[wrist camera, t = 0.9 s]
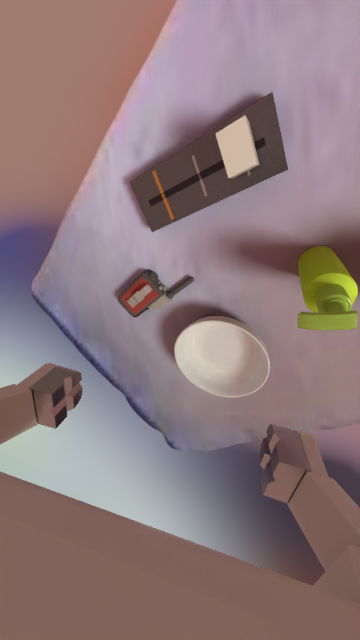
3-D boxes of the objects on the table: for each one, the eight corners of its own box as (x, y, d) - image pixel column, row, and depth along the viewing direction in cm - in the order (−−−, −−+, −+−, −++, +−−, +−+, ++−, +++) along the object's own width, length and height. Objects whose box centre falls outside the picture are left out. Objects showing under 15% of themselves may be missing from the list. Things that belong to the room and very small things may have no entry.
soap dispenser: (290, 249, 40) (298, 299, 24) (338, 243, 37) (381, 294, 22) (291, 281, 43) (298, 344, 27) (335, 277, 40) (372, 346, 24)
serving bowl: (266, 301, 47) (265, 318, 41) (274, 379, 56) (273, 401, 50) (174, 308, 55) (162, 323, 50) (193, 374, 65) (185, 393, 59)
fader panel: (272, 98, 32) (272, 91, 29) (287, 169, 35) (287, 169, 32) (138, 181, 43) (129, 182, 41) (158, 229, 47) (151, 232, 44)
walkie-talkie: (142, 320, 61) (198, 279, 50) (134, 329, 58) (191, 287, 46) (119, 295, 59) (171, 246, 48) (109, 302, 56) (163, 252, 44)
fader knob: (251, 124, 31) (245, 115, 26) (260, 165, 33) (257, 163, 28) (225, 139, 33) (215, 133, 28) (236, 177, 35) (228, 178, 30)
